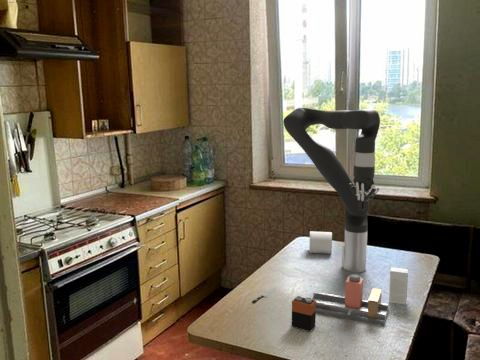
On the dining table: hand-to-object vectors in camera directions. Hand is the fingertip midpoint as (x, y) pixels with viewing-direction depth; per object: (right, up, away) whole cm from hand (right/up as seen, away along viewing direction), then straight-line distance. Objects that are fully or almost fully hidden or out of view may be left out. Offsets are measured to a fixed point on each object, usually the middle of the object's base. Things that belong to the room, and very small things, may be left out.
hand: (362, 210), depth 174 cm
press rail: (-8, -34, -12) cm, 37 cm away
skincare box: (+11, -33, -6) cm, 35 cm away
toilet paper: (-8, -23, +45) cm, 51 cm away
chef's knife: (-35, -32, +1) cm, 48 cm away
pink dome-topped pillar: (-7, -33, -13) cm, 36 cm away
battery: (-25, -37, -23) cm, 50 cm away
